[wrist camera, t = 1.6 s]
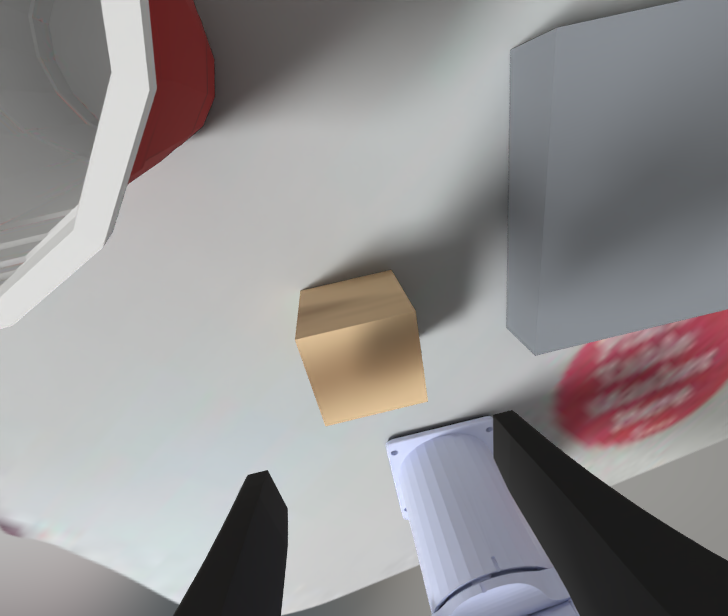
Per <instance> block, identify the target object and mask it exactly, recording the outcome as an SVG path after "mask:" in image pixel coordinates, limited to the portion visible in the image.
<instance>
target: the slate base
mask: <svg viewBox="0 0 728 616" xmlns="http://www.w3.org/2000/svg"><path fill="white" fill-rule="evenodd" d="M726 309H728V0H682V1H677V2H673V3H668V4H663V5H659V6H654V7H650V8H645V9H640V10H636V11H631V12H627V13H622V14H617V15H613V16H608V17H604V18H599V19H594V20H590V21H585V22H581V23H576V24H571V25H567V26H562V27H558V28H555V29H553V30H551V31H549V32H547V33H545V34H543V35H540V36H538V37H536V38H534V39H532V40H530V41H528V42H526V43H524V44H522V45H520V46H518V47H515V48H513V49H511V52H510V120H509V188H508V256H507V324H506V328H507V329H508V330H509V331H510V332H511V333H512V334H513V335H514V336H515V337H516V338H517V339H518V340H519V341H520V342H522V343H523V344H524V345H525V346H526V347H527V348H528V349H529V350H530V351H531V352H532V353H533V354H534V355H535V356H536V355H540V354H544V353H548V352H552V351H556V350H561V349H565V348H569V347H573V346H577V345H581V344H585V343H590V342H594V341H598V340H602V339H606V338H610V337H614V336H619V335H623V334H627V333H631V332H635V331H639V330H644V329H648V328H652V327H656V326H660V325H664V324H668V323H673V322H677V321H681V320H685V319H689V318H693V317H697V316H702V315H706V314H710V313H714V312H718V311H722V310H726Z"/></svg>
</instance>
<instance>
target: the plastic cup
mask: <svg viewBox="0 0 728 616" xmlns="http://www.w3.org/2000/svg"><path fill="white" fill-rule="evenodd" d="M214 97H215V73H214V57H213V54H212V51H211V48H210V46H209V43H208V40H207V37H206V34H205V31H204V28H203V25H202V22H201V19H200V17H199V15H198V13H197V10H196V7H195V4H194V1H193V0H0V329H2V328H6V327H11V326H13V325H14V324H15V323H16V322H17V321H19V320H20V319H21V318H22V317H23V316H24V315H25V314H27V313H28V312H29V311H30V310H31V309H32V308H34V307H35V306H36V305H37V304H38V303H39V302H40V301H42V300H43V299H44V298H45V297H46V296H47V295H49V294H50V293H51V292H52V291H53V290H54V289H55V288H57V287H58V286H59V285H60V284H61V283H62V282H64V281H65V280H66V279H67V278H68V277H69V276H70V275H72V274H73V273H74V272H75V271H76V270H77V269H79V268H80V267H81V266H82V265H83V264H84V263H85V262H87V261H88V260H89V259H90V258H91V257H92V256H94V255H95V254H96V253H97V252H98V251H99V250H100V249H102V248H103V246H104V245H105V243H106V242H107V240H108V239H109V237H110V235H111V234H112V232H113V230H114V226H115V223H116V220H117V217H118V213H119V210H120V207H121V204H122V200H123V197H124V194H125V191H126V187H127V185H128V184H129V183H130V182H132V181H133V180H135V179H136V178H138V177H139V176H140V175H142V174H143V173H145V172H146V171H148V170H149V169H151V168H152V167H153V166H155V165H156V164H158V163H159V162H161V161H162V160H163V159H164V158H165V157H167V156H168V155H169V154H170V153H171V152H172V151H173V150H175V149H176V148H177V147H179V146H180V145H182V144H183V143H184V142H185V141H186V140H188V139H189V138H190V137H191V136H192V135H193V134H194V133H196V132H197V131H198V130H199V129H200V128H201V127H203V125H204V122H205V120H206V117H207V115H208V112H209V110H210V107H211V105H212V102H213V100H214Z"/></svg>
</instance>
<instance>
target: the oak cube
mask: <svg viewBox="0 0 728 616" xmlns="http://www.w3.org/2000/svg"><path fill="white" fill-rule="evenodd" d="M295 341H296V344H297V347H298V349H299V352H300V355H301V358H302V361H303V364H304V366H305V369H306V372H307V375H308V378H309V381H310V383H311V386H312V389H313V392H314V395H315V398H316V400H317V403H318V406H319V409H320V412H321V415H322V417H323V420H324V423H325V426H329V425H333V424H337V423H341V422H345V421H349V420H353V419H358V418H362V417H366V416H370V415H374V414H378V413H382V412H386V411H390V410H395V409H399V408H403V407H407V406H411V405H415V404H419V403H423V402H428V399H427V391H426V384H425V377H424V369H423V362H422V355H421V347H420V340H419V333H418V325H417V318H416V311H415V309H414V308H413V306H412V304H411V303H410V301H409V299H408V298H407V296H406V294H405V292H404V291H403V289H402V287H401V286H400V284H399V282H398V281H397V279H396V277H395V275H394V274H393V272H392V270H388V271H384V272H379V273H375V274H371V275H367V276H362V277H358V278H354V279H349V280H345V281H341V282H336V283H332V284H328V285H323V286H319V287H315V288H310V289H306V290H302V291H300V300H299V309H298V318H297V327H296V336H295Z"/></svg>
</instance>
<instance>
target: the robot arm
mask: <svg viewBox="0 0 728 616" xmlns="http://www.w3.org/2000/svg"><path fill="white" fill-rule="evenodd" d="M386 449H387V453H388V457H389V462H390V466H391V470H392V474H393V478H394V482H395V486H396V491H397V495H398V499H399V503H400V507H401V511H402V516H403V518H404V519H406V520H409V522H410V526H411V530H412V534H413V538H414V542H415V546H416V550H417V555H418V559H419V563H420V567H421V571H422V575H423V579H424V583H425V587H426V592H427V596H428V600H429V604H430V608H431V612H432V615H430V616H728V561H727V560H726V559H724V558H722V557H720V556H718V555H717V554H715V553H713V552H711V551H710V550H708V549H706V548H704V547H703V546H701V545H699V544H698V543H696V542H695V541H693V540H691V539H690V538H688V537H686V536H684V535H683V534H681V533H680V532H678V531H676V530H675V529H673V528H671V527H670V526H668V525H667V524H665V523H663V522H662V521H660V520H659V519H657V518H656V517H654V516H653V515H651V514H649V513H648V512H646V511H645V510H643V509H642V508H640V507H639V506H637V505H636V504H634V503H633V502H631V501H630V500H628V499H627V498H625V497H624V496H623V495H621V494H620V493H618V492H617V491H615V490H614V489H613V488H611V487H610V486H608V485H607V484H605V483H604V482H603V481H601V480H600V479H598V478H597V477H596V476H594V475H593V474H592V473H590V472H589V471H588V470H586V469H585V468H584V467H582V466H581V465H580V464H578V463H577V462H576V461H574V460H573V459H572V458H570V457H569V456H568V455H567V454H565V453H564V452H563V451H561V450H560V449H559V448H558V447H556V446H555V445H554V444H553V443H551V442H550V441H549V440H548V439H546V438H545V437H544V436H543V435H541V434H540V433H539V432H538V431H537V430H535V429H534V428H533V427H532V426H531V425H529V424H528V423H527V422H526V421H525V420H523V419H522V418H521V417H520V416H519V415H518V414H516V413H515V412H514V411H512V410H511V411H507V412H503V413H499V414H495V415H493V417H491V416H485V417H481V418H477V419H473V420H469V421H465V422H461V423H457V424H453V425H449V426H445V427H440V428H436V429H432V430H428V431H424V432H420V433H416V434H412V435H408V436H404V437H400V438H395V439H391V440H389V441H388V442H387V443H386ZM394 450H395V451H394ZM287 548H288V508H287V506H286V505H285V503H284V501H283V499H282V497H281V495H280V493H279V491H278V489H277V487H276V485H275V483H274V482H273V480H272V478H271V476H270V474H269V472H268V470H266V471H262V472H258V473H254V474H250V475H248V476H247V477H246V479H245V481H244V483H243V485H242V487H241V489H240V491H239V494H238V496H237V498H236V500H235V502H234V504H233V506H232V508H231V510H230V512H229V514H228V516H227V518H226V520H225V522H224V524H223V526H222V528H221V530H220V532H219V534H218V536H217V538H216V539H215V541H214V543H213V545H212V547H211V549H210V551H209V553H208V555H207V557H206V559H205V560H204V562H203V564H202V566H201V568H200V570H199V571H198V573H197V575H196V577H195V578H194V580H193V582H192V584H191V585H190V587H189V589H188V591H187V592H186V594H185V596H184V598H183V599H182V601H181V603H180V605H179V606H178V608H177V610H176V612H175V613H174V615H173V616H281V608H282V599H283V589H284V579H285V569H286V559H287Z"/></svg>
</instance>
